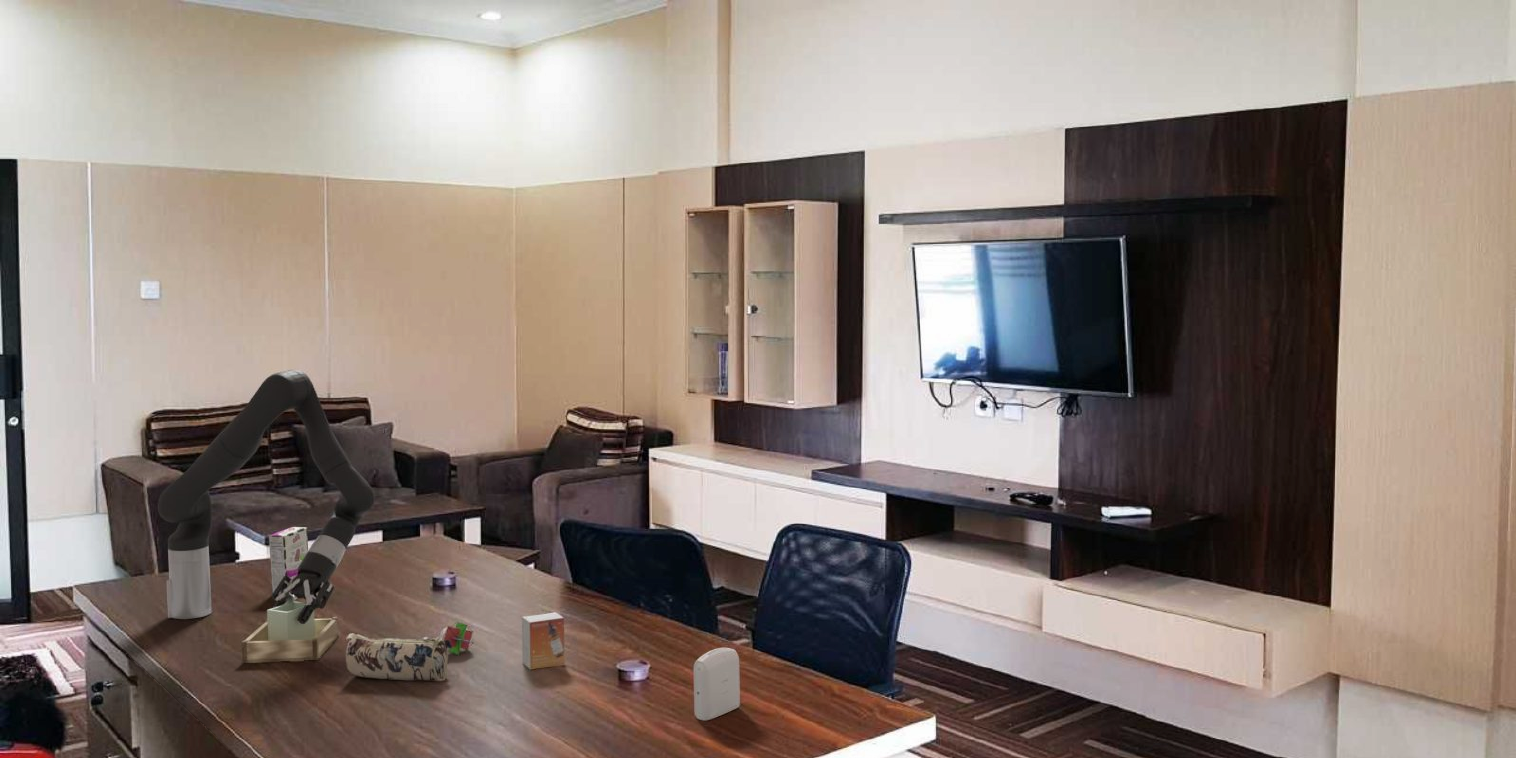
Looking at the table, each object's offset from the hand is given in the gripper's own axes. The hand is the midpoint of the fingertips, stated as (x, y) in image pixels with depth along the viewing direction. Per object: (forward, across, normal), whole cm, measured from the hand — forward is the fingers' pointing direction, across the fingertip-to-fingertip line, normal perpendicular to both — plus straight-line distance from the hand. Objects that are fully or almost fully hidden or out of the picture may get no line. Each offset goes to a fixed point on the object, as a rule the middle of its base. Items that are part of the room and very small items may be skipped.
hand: (286, 620), depth 280 cm
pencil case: (+8, +36, +2) cm, 37 cm away
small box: (-6, +59, +16) cm, 61 cm away
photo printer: (+2, +107, +8) cm, 107 cm away
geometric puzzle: (-6, +36, +16) cm, 40 cm away
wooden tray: (+4, 0, +6) cm, 7 cm away
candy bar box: (-24, -41, +34) cm, 59 cm away
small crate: (+3, 0, +6) cm, 6 cm away
